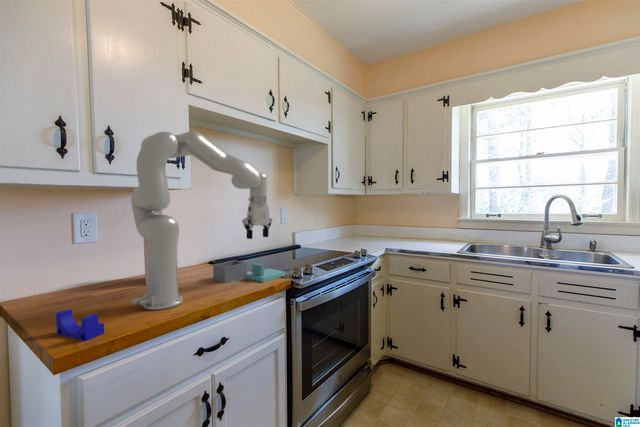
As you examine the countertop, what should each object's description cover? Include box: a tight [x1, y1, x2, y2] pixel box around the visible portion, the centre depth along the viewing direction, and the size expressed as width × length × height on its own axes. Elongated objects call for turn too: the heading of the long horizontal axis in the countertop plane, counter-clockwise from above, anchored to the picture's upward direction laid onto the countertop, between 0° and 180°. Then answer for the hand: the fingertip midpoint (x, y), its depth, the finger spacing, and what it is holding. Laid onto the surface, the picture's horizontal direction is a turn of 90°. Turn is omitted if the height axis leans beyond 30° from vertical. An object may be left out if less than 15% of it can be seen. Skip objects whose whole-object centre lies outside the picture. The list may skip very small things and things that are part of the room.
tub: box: [212, 259, 248, 284], centre depth 137 cm, size 12×9×7 cm
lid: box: [245, 262, 287, 283], centre depth 139 cm, size 15×12×7 cm
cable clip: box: [55, 308, 105, 342], centre depth 80 cm, size 12×4×6 cm, turn 71°
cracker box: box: [143, 237, 148, 286], centre depth 132 cm, size 14×6×21 cm, turn 25°
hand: (257, 237), depth 134 cm, fingers open, 9 cm apart
